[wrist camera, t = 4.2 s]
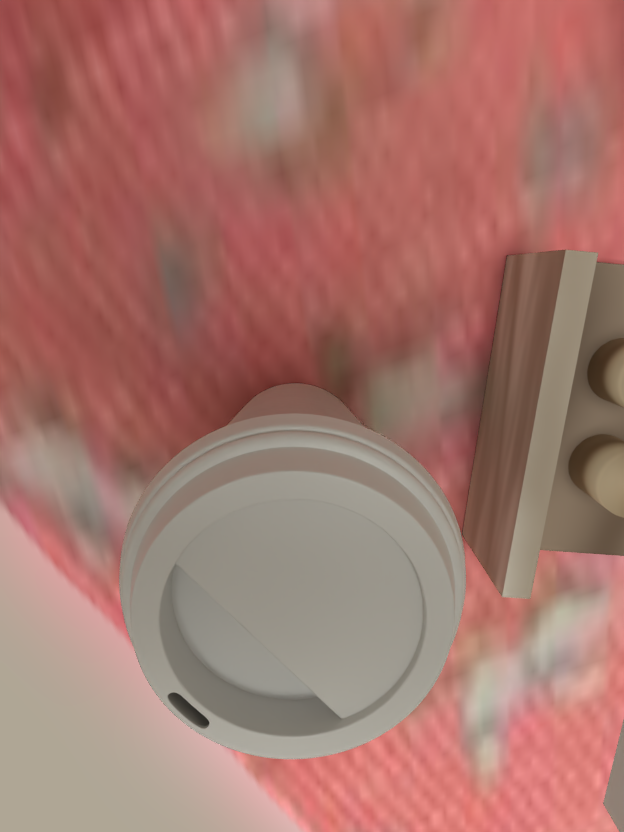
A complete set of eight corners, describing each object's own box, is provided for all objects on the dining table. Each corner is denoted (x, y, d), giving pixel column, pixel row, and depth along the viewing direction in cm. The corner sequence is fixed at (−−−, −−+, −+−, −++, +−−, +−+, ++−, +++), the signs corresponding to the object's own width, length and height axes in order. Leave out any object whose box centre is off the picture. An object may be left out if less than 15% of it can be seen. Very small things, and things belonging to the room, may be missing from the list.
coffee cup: (168, 390, 28) (24, 516, 13) (355, 322, 27) (423, 375, 13) (240, 560, 30) (186, 829, 15) (415, 500, 29) (532, 721, 15)
